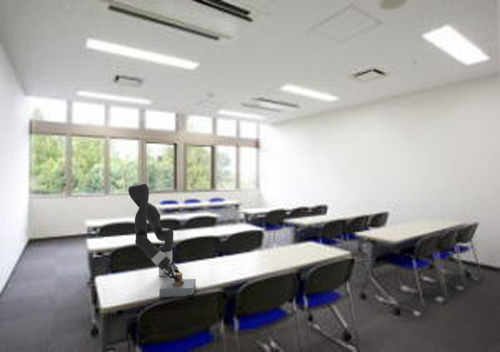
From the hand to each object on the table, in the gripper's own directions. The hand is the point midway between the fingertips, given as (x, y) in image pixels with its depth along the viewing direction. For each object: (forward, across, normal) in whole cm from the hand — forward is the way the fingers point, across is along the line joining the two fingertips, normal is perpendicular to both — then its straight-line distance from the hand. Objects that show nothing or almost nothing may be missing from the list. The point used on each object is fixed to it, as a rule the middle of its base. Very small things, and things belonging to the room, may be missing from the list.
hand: (180, 278), depth 164 cm
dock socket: (+5, 0, +6) cm, 8 cm away
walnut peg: (+4, 0, +6) cm, 7 cm away
